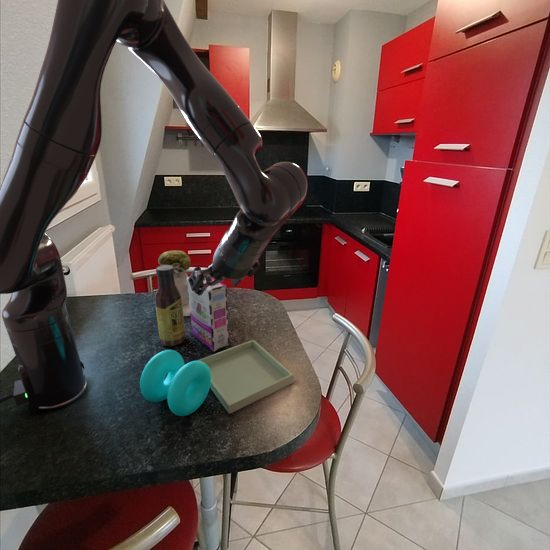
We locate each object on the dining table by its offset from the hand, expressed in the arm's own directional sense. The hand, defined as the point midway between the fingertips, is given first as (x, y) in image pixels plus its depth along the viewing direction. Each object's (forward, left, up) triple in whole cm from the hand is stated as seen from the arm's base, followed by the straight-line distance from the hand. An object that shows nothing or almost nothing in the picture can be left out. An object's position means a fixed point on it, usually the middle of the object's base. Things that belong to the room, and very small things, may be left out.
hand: (216, 287), depth 72 cm
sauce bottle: (-8, +11, -17) cm, 22 cm away
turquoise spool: (-14, -11, -17) cm, 25 cm away
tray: (0, -11, -17) cm, 20 cm away
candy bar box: (0, +6, -17) cm, 18 cm away
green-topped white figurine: (-1, +27, -17) cm, 32 cm away
